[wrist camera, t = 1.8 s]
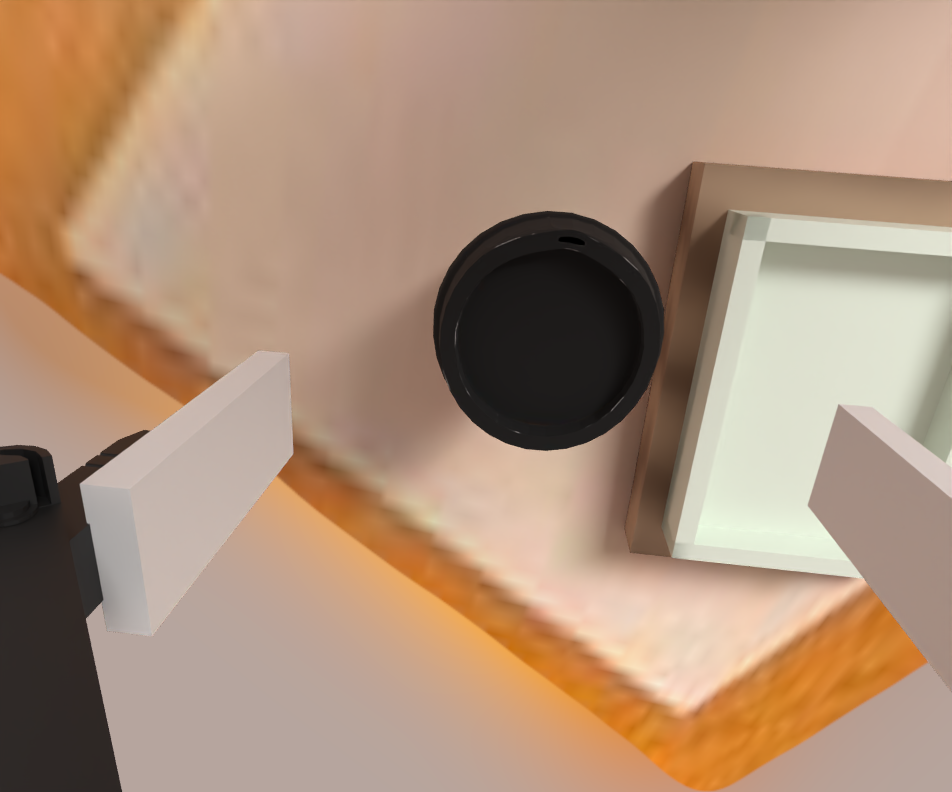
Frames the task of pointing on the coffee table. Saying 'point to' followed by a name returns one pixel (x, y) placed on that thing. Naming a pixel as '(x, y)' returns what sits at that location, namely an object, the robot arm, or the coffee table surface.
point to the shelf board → (693, 282)
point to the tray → (805, 377)
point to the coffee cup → (548, 329)
